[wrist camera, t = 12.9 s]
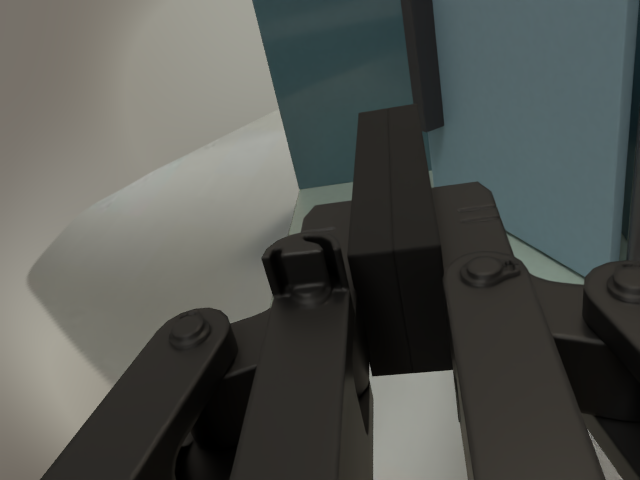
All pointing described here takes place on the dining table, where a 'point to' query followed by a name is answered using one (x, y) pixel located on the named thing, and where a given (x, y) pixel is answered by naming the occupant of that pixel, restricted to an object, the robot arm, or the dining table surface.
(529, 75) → the shower door
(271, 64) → the shower
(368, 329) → the robot arm
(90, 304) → the dining table surface
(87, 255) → the dining table surface
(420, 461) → the dining table surface
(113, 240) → the dining table surface
